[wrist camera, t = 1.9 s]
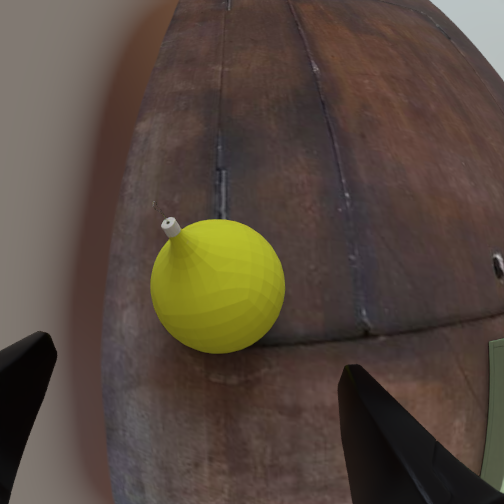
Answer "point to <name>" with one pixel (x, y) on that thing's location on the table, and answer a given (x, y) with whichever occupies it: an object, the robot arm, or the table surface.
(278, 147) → the table surface
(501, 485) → the pale green tray
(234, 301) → the ornament
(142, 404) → the table surface
